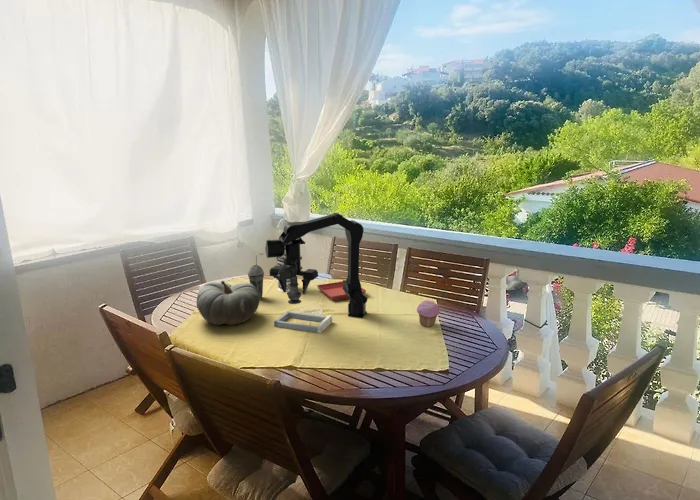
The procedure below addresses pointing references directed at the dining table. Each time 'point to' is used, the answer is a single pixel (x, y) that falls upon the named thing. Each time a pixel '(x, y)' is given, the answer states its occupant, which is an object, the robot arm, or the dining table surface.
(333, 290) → the plant saucer
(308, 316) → the frame
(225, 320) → the gourd
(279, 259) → the decorative candle
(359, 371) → the dining table surface
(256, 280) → the beverage cup
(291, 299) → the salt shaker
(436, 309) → the cupcake
